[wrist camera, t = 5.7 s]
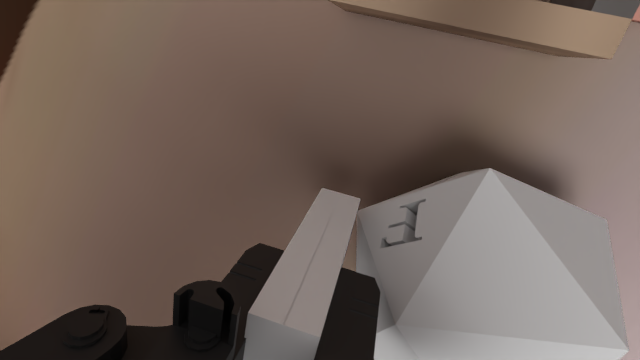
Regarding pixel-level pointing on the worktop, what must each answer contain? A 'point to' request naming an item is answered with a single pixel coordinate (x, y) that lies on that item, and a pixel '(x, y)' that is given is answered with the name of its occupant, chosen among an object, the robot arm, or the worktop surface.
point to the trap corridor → (517, 21)
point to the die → (490, 274)
